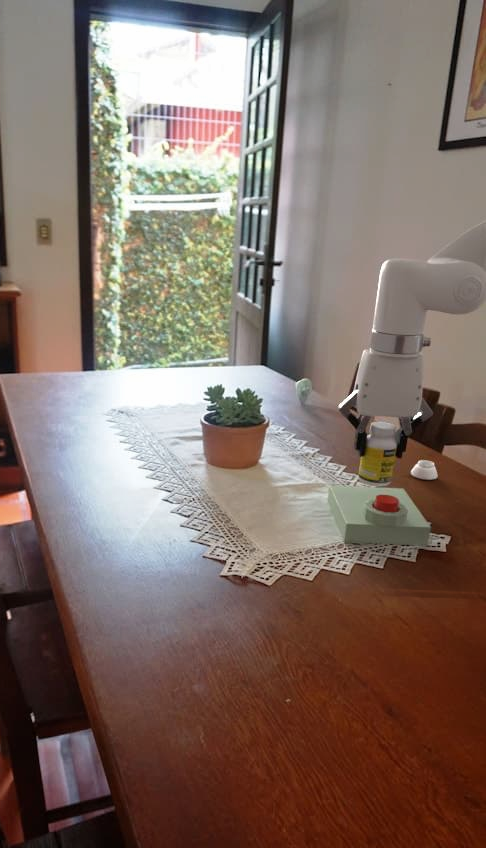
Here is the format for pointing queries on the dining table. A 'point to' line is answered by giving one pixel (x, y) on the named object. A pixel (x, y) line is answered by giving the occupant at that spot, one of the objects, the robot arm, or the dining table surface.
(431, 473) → the small white bowl
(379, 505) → the button
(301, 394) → the pale green rock
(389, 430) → the supplement bottle
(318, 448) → the dining table surface
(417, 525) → the red button box
